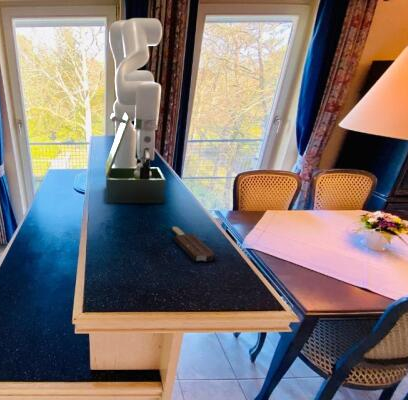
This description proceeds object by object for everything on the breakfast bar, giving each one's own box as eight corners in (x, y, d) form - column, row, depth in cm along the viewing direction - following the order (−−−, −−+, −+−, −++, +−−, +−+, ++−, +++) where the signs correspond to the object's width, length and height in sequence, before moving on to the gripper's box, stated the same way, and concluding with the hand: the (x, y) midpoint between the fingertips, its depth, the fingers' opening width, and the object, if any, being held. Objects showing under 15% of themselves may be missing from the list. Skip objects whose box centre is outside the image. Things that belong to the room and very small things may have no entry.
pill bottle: (145, 198, 93) (148, 168, 88) (129, 194, 96) (131, 165, 91) (152, 192, 98) (154, 163, 93) (136, 189, 101) (138, 161, 96)
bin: (156, 189, 103) (158, 167, 99) (163, 203, 91) (165, 179, 87) (106, 188, 103) (106, 167, 99) (106, 203, 92) (106, 179, 88)
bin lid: (127, 112, 91) (112, 107, 90) (130, 118, 79) (114, 112, 79) (107, 166, 99) (94, 162, 98) (107, 178, 88) (92, 173, 87)
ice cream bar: (165, 231, 75) (196, 264, 62) (165, 226, 74) (197, 258, 61) (181, 228, 76) (215, 260, 63) (182, 223, 76) (217, 254, 63)
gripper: (163, 129, 78) (157, 183, 86) (153, 119, 94) (149, 165, 101) (137, 129, 78) (134, 183, 86) (132, 119, 94) (129, 165, 101)
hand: (142, 173), depth 93 cm, fingers open, 9 cm apart
